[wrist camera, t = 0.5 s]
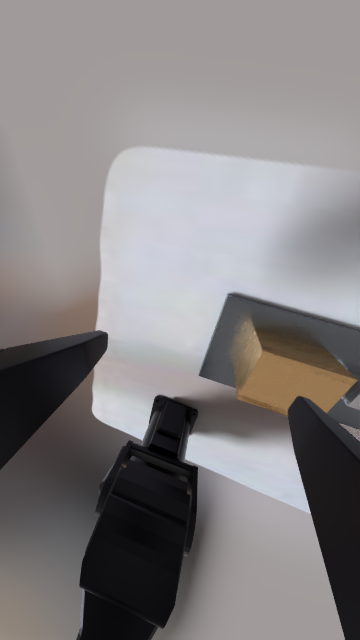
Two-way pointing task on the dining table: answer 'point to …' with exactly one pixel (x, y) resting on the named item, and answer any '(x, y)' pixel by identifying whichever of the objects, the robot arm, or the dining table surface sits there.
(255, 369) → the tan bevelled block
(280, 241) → the dining table surface
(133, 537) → the robot arm
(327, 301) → the dining table surface
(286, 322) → the grey stepped plate
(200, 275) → the dining table surface
